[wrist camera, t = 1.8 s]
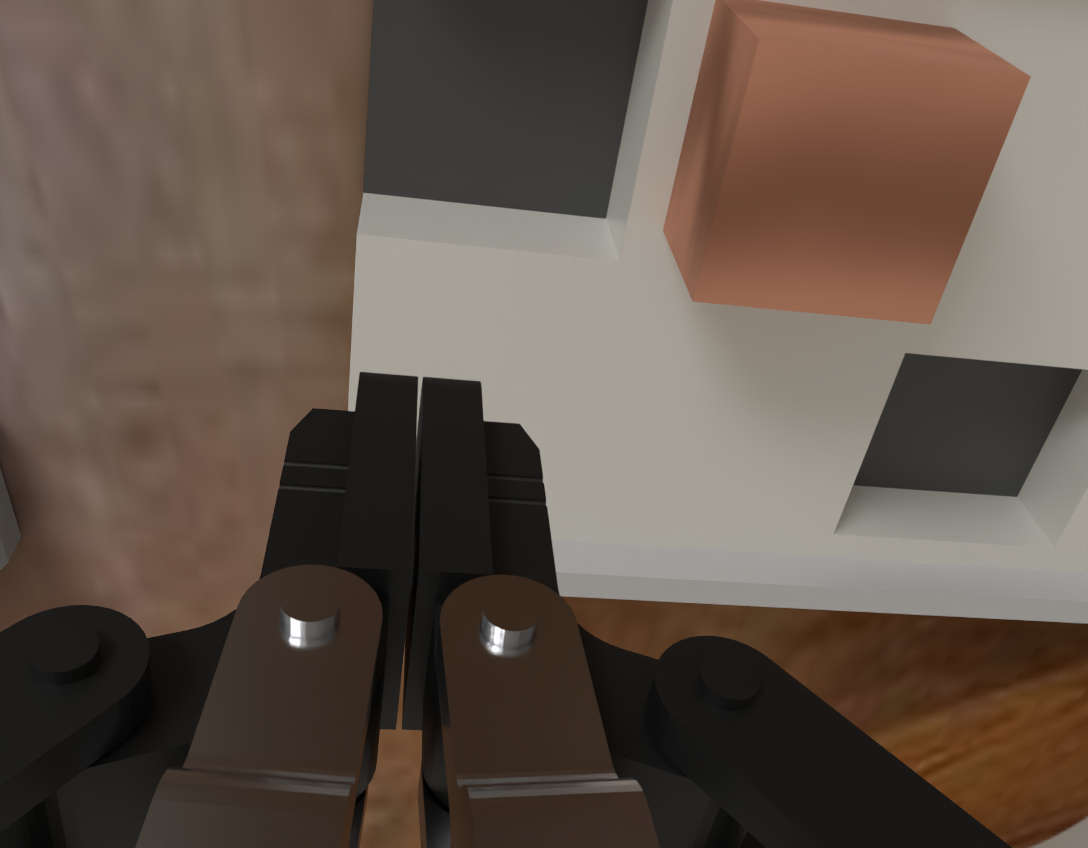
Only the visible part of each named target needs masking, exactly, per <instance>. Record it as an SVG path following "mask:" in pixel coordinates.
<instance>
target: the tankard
mask: <svg viewBox="0 0 1088 848" xmlns="http://www.w3.org/2000/svg"><path fill="white" fill-rule="evenodd" d="M20 539H21V534H20V531H19V528H18V524H17V521H16V518H15V514H14V511H13V508H12V505H11V501H10V498H9V495H8V491H7V488H6V485H5V482H4V478H3V475H2V472H1V468H0V570H1V569H2V568H3V567H4V566H5V565H7V564H8V562H9V560H10V559H11V557H12V555H13V553H14V551H15V549H16V547H17V545H18V543H19V541H20Z"/></svg>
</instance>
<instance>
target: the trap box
mask: <svg viewBox="0 0 1088 848" xmlns="http://www.w3.org/2000/svg"><path fill="white" fill-rule="evenodd" d="M761 1H768V2H775V3H782V4H789V5H796V6H803V7H810V8H817V9H824V10H831V11H838V12H845V13H852V14H859V15H866V16H873V17H880V18H887V19H894V20H901V21H908V22H915V23H922V24H929V25H936V26H943V27H950V28H955V29H957V30H958V31H960V32H961V33H963V34H965V35H966V36H968V37H969V38H971V39H972V40H974V41H976V42H977V43H979V44H980V45H982V46H984V47H985V48H987V49H988V50H990V51H991V52H993V53H995V54H996V55H998V56H999V57H1001V58H1002V59H1004V60H1006V61H1007V62H1009V63H1010V64H1012V65H1014V66H1015V67H1017V68H1018V69H1020V70H1021V71H1023V72H1025V73H1026V74H1028V75H1029V76H1031V78H1030V80H1029V83H1028V85H1027V88H1026V90H1025V93H1024V95H1023V97H1022V100H1021V102H1020V105H1019V107H1018V110H1017V112H1016V115H1015V117H1014V120H1013V122H1012V125H1011V127H1010V130H1009V132H1008V135H1007V137H1006V139H1005V142H1004V144H1003V147H1002V149H1001V152H1000V154H999V157H998V159H997V162H996V164H995V167H994V169H993V172H992V174H991V176H990V179H989V181H988V184H987V186H986V189H985V191H984V194H983V196H982V199H981V201H980V204H979V206H978V209H977V211H976V214H975V216H974V218H973V221H972V223H971V226H970V228H969V231H968V233H967V236H966V238H965V241H964V243H963V246H962V248H961V251H960V253H959V256H958V258H957V260H956V263H955V265H954V268H953V270H952V273H951V275H950V278H949V280H948V283H947V285H946V288H945V290H944V293H943V295H942V298H941V300H940V302H939V305H938V307H937V310H936V312H935V315H934V317H933V320H932V322H931V325H930V324H920V323H910V322H899V321H889V320H879V319H868V318H858V317H848V316H837V315H827V314H817V313H806V312H796V311H786V310H775V309H765V308H754V307H744V306H734V305H723V304H713V303H703V302H693V301H692V299H691V297H690V294H689V292H688V289H687V287H686V285H685V282H684V280H683V277H682V275H681V273H680V270H679V268H678V265H677V263H676V261H675V258H674V256H673V254H672V251H671V249H670V246H669V244H668V242H667V239H666V237H665V234H664V232H663V228H664V224H665V219H666V215H667V211H668V206H669V202H670V197H671V193H672V189H673V184H674V180H675V175H676V171H677V167H678V162H679V158H680V153H681V149H682V145H683V140H684V136H685V132H686V127H687V123H688V118H689V114H690V110H691V105H692V101H693V96H694V92H695V88H696V83H697V79H698V74H699V70H700V66H701V61H702V57H703V52H704V48H705V44H706V39H707V35H708V30H709V26H710V22H711V17H712V13H713V9H714V4H715V0H374V5H373V24H372V43H371V62H370V81H369V100H368V119H367V137H366V156H365V175H364V193H363V199H362V206H361V212H360V218H359V224H358V230H357V240H356V260H355V280H354V300H353V320H352V340H351V360H350V380H349V400H348V411H355V406H356V398H357V390H358V381H359V374H360V372H370V373H382V374H395V375H407V376H418V400H417V429H418V418H419V408H420V398H421V388H422V380H423V377H434V378H447V379H459V380H471V381H480V382H481V387H482V402H483V419H484V421H490V422H504V423H517V424H520V425H521V426H522V427H523V429H524V430H525V431H526V433H527V434H528V435H529V436H530V438H531V439H532V440H533V442H534V443H535V444H536V446H537V447H538V448H539V449H540V457H541V464H542V472H543V483H544V487H545V494H546V506H547V509H548V516H549V524H550V531H551V539H552V546H553V554H554V561H555V568H556V576H557V583H558V590H559V594H560V596H568V597H587V598H606V599H626V600H645V601H664V602H684V603H703V604H722V605H741V606H761V607H780V608H799V609H818V610H838V611H857V612H876V613H896V614H915V615H934V616H953V617H973V618H992V619H1011V620H1031V621H1050V622H1069V623H1088V0H761ZM416 439H417V432H416Z"/></svg>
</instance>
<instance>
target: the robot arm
mask: <svg viewBox="0 0 1088 848" xmlns="http://www.w3.org/2000/svg"><path fill="white" fill-rule="evenodd" d="M417 400H418V376H407V375H395V374H382V373H370V372H360V374H359V381H358V390H357V398H356V406H355V411H341V410H328V409H315V408H313V409H312V410H311V411H310V412H309V413H308V414H307V415H306V416H305V417H304V418H303V419H302V420H301V421H300V422H299V423H298V424H297V425H296V426H295V427H294V429H293V430H292V431H291V432H290V436H289V441H288V445H287V450H286V455H285V460H284V466H283V470H282V475H281V479H280V487H279V489H278V494H277V499H276V504H275V508H274V513H273V518H272V523H271V528H270V533H269V538H268V542H267V547H266V552H265V557H264V562H263V567H262V572H261V576H260V579H259V580H258V581H257V582H255V583H254V584H253V585H252V586H251V587H250V588H249V589H248V590H247V591H246V592H245V594H244V595H243V596H242V598H241V600H240V602H239V604H238V607H237V609H236V610H234V611H233V612H231V613H230V614H228V615H227V616H225V617H223V618H221V619H219V620H217V621H215V622H212V623H210V624H207V625H204V626H202V627H198V628H194V629H190V630H186V631H181V632H176V633H171V634H166V635H161V636H156V637H151V638H146V635H145V633H144V632H143V630H142V629H141V627H140V626H139V625H138V624H137V623H136V622H135V621H133V620H132V619H131V618H129V617H128V616H126V615H124V614H122V613H120V612H117V611H115V610H112V609H108V608H104V607H99V606H89V605H75V606H65V607H58V608H54V609H50V610H46V611H42V612H40V613H37V614H34V615H32V616H29V617H27V618H25V619H23V620H21V621H19V622H17V623H15V624H14V625H12V626H10V627H9V628H7V629H5V630H4V631H2V632H0V848H360V842H361V835H362V829H363V822H364V816H365V809H366V803H367V796H368V785H369V783H370V781H371V780H372V778H373V775H374V772H375V769H376V763H377V754H378V743H379V732H380V729H393V730H396V722H397V712H398V703H399V693H400V683H401V673H402V664H403V654H404V644H405V661H404V688H403V715H402V729H406V730H422V761H421V769H420V777H419V785H418V810H419V825H420V840H421V848H1012V847H1010V846H1009V845H1008V844H1007V843H1005V842H1004V841H1003V840H1001V839H1000V838H999V837H998V836H996V835H995V834H994V833H992V832H991V831H990V830H989V829H987V828H986V827H985V826H983V825H982V824H981V823H980V822H978V821H977V820H976V819H974V818H973V817H972V816H971V815H969V814H968V813H967V812H965V811H964V810H963V809H962V808H960V807H959V806H958V805H956V804H955V803H954V802H953V801H951V800H950V799H949V798H948V797H946V796H945V795H944V794H942V793H941V792H940V791H939V790H937V789H936V788H935V787H933V786H932V785H931V784H930V783H928V782H927V781H926V780H924V779H923V778H922V777H921V776H919V775H918V774H917V773H915V772H914V771H913V770H912V769H910V768H909V767H908V766H906V765H905V764H904V763H903V762H901V761H900V760H899V759H897V758H896V757H895V756H894V755H892V754H891V753H890V752H888V751H887V750H886V749H885V748H883V747H882V746H881V745H879V744H878V743H877V742H876V741H874V740H873V739H872V738H870V737H869V736H868V735H867V734H865V733H864V732H863V731H862V730H860V729H859V728H858V727H856V726H855V725H854V724H853V723H851V722H850V721H849V720H847V719H846V718H845V717H844V716H842V715H841V714H840V713H838V712H837V711H836V710H835V709H833V708H832V707H831V706H829V705H828V704H827V703H826V702H824V701H823V700H822V699H820V698H819V697H818V696H817V695H815V694H814V693H813V692H811V691H810V690H809V689H808V688H806V687H805V686H804V685H802V684H801V683H800V682H799V681H797V680H796V679H795V678H793V677H792V676H791V675H790V674H788V673H787V672H786V671H785V670H783V669H782V668H781V667H779V666H778V665H777V664H776V663H774V662H773V661H772V660H770V659H769V658H768V657H766V656H765V655H763V654H762V653H761V652H759V651H758V650H756V649H754V648H752V647H750V646H748V645H746V644H743V643H741V642H738V641H735V640H732V639H728V638H724V637H716V636H697V637H690V638H687V639H684V640H681V641H679V642H677V643H675V644H673V645H672V646H670V647H669V648H668V649H667V650H666V651H665V652H664V653H663V654H662V656H661V657H660V659H659V660H657V659H654V658H651V657H647V656H644V655H641V654H638V653H634V652H631V651H628V650H624V649H621V648H619V647H616V646H613V645H610V644H608V643H606V642H604V641H602V640H600V639H598V638H596V637H595V636H593V635H592V634H590V633H589V632H587V631H586V630H585V629H584V628H582V627H581V626H580V625H579V624H578V623H577V621H576V618H575V615H574V613H573V611H572V610H571V608H570V606H569V605H568V604H567V603H566V601H565V600H564V599H563V598H562V597H561V596H560V594H559V590H558V583H557V576H556V568H555V561H554V554H553V546H552V539H551V531H550V524H549V516H548V509H547V506H546V494H545V487H544V483H543V472H542V464H541V457H540V449H539V448H538V447H537V446H536V444H535V443H534V442H533V440H532V439H531V438H530V436H529V435H528V434H527V433H526V431H525V430H524V429H523V427H522V426H521V425H520V424H517V423H504V422H490V421H484V419H483V402H482V387H481V382H480V381H471V380H459V379H447V378H434V377H423V380H422V388H421V398H420V408H419V418H418V429H417ZM416 432H417V439H416Z"/></svg>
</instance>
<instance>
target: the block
mask: <svg viewBox="0 0 1088 848" xmlns="http://www.w3.org/2000/svg"><path fill="white" fill-rule="evenodd" d="M1030 78H1031V76H1029V75H1028V74H1026V73H1025V72H1023V71H1021V70H1020V69H1018V68H1017V67H1015V66H1014V65H1012V64H1010V63H1009V62H1007V61H1006V60H1004V59H1002V58H1001V57H999V56H998V55H996V54H995V53H993V52H991V51H990V50H988V49H987V48H985V47H984V46H982V45H980V44H979V43H977V42H976V41H974V40H972V39H971V38H969V37H968V36H966V35H965V34H963V33H961V32H960V31H958V30H957V29H955V28H950V27H943V26H936V25H929V24H922V23H915V22H908V21H901V20H894V19H887V18H880V17H873V16H866V15H859V14H852V13H845V12H838V11H831V10H824V9H817V8H810V7H803V6H796V5H789V4H782V3H775V2H768V1H761V0H715V4H714V9H713V13H712V17H711V22H710V26H709V30H708V35H707V39H706V44H705V48H704V52H703V57H702V61H701V66H700V70H699V74H698V79H697V83H696V88H695V92H694V96H693V101H692V105H691V110H690V114H689V118H688V123H687V127H686V132H685V136H684V140H683V145H682V149H681V153H680V158H679V162H678V167H677V171H676V175H675V180H674V184H673V189H672V193H671V197H670V202H669V206H668V211H667V215H666V219H665V224H664V228H663V232H664V234H665V237H666V239H667V242H668V244H669V246H670V249H671V251H672V254H673V256H674V258H675V261H676V263H677V265H678V268H679V270H680V273H681V275H682V277H683V280H684V282H685V285H686V287H687V289H688V292H689V294H690V297H691V299H692V301H693V302H703V303H713V304H723V305H734V306H744V307H754V308H765V309H775V310H786V311H796V312H806V313H817V314H827V315H837V316H848V317H858V318H868V319H879V320H889V321H899V322H910V323H920V324H930V325H931V322H932V320H933V317H934V315H935V312H936V310H937V307H938V305H939V302H940V300H941V298H942V295H943V293H944V290H945V288H946V285H947V283H948V280H949V278H950V275H951V273H952V270H953V268H954V265H955V263H956V260H957V258H958V256H959V253H960V251H961V248H962V246H963V243H964V241H965V238H966V236H967V233H968V231H969V228H970V226H971V223H972V221H973V218H974V216H975V214H976V211H977V209H978V206H979V204H980V201H981V199H982V196H983V194H984V191H985V189H986V186H987V184H988V181H989V179H990V176H991V174H992V172H993V169H994V167H995V164H996V162H997V159H998V157H999V154H1000V152H1001V149H1002V147H1003V144H1004V142H1005V139H1006V137H1007V135H1008V132H1009V130H1010V127H1011V125H1012V122H1013V120H1014V117H1015V115H1016V112H1017V110H1018V107H1019V105H1020V102H1021V100H1022V97H1023V95H1024V93H1025V90H1026V88H1027V85H1028V83H1029V80H1030Z"/></svg>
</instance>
